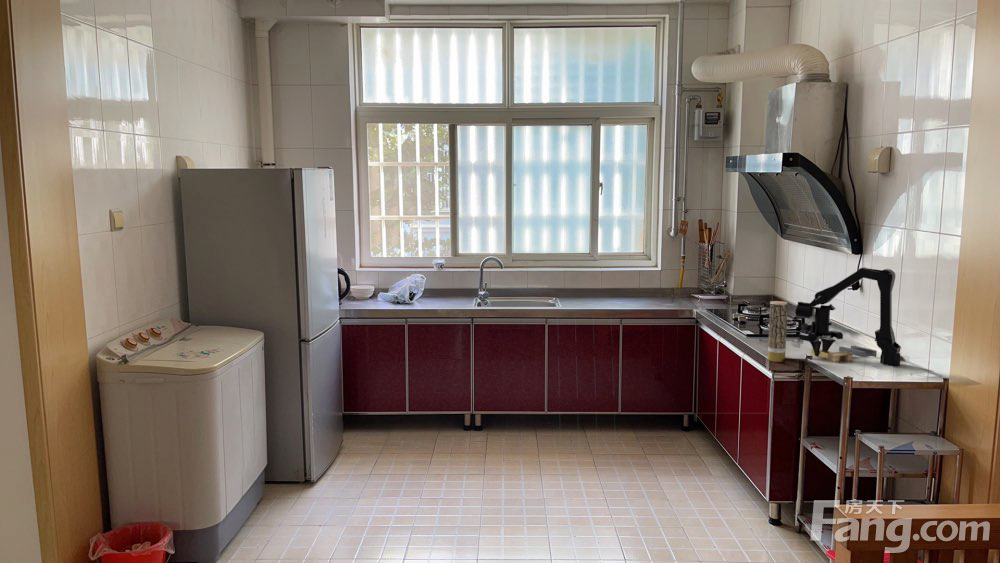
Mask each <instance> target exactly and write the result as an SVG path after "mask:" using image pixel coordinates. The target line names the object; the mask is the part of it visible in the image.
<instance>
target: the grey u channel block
mask: <svg viewBox="0 0 1000 563" xmlns="http://www.w3.org/2000/svg"><path fill="white" fill-rule="evenodd" d="M838 352H848V353H852V356H857V357H861V358H862V357H874V358H877V352H878V351H877V350H875V349H871V348H866V347H863V346H858V345H850V347H846V346H839V347H838Z"/></svg>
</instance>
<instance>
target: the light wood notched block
mask: <svg viewBox="0 0 1000 563" xmlns="http://www.w3.org/2000/svg"><path fill="white" fill-rule="evenodd" d="M839 356H840V358H839ZM826 360H827V362H830V363H831V362H832V363H836V364H837V363H840V361H844V362H845V361H846V362H852V361H853V355H852V353H848V352H840V351H837V352H834V351H833V353H828V357H827V359H826Z"/></svg>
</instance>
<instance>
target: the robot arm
mask: <svg viewBox="0 0 1000 563" xmlns="http://www.w3.org/2000/svg"><path fill="white" fill-rule="evenodd" d="M896 276H897V275H896V273H895V271H893V270H892V269H890V268H886V269H885V268H884V269H877V268H868V267H860V268H858V269H857V270H855V272H852V273H851V274H850V275H848V276H846V277H844V278H843V279H842V280H840V281H839V282H837V283H835V284H834V285H831V286H829V287H826V288H824V289H822V290H819V291H817V292H816V293H815V295H814V299H812V300H811V302H804V301H798V302H797V305H796V308H795V312H794V314H795V317H796V318H800V319H812V317H814V320H813V321H812V322H811V324H809V325H808V323H801V325H800V330H801V333H799V335H798V337H799V338H798V340H801V341H806V342H809V343H810V345H811V348H812V349H813V350H814V354H815V356H814V357H818V354H819V350H820V349H822V350H825V351H829V350H830V349H831V346H832V345H833V344H834V343H835V342H836V340H843V339H844V334H843V332H842V331H837V330H830V326H832V322H830V318H831V317H830V315H831V314H830V313H831V311H834V310H836V307H835V306H834V305H833V304H832V303H830V302H831V301H832V300H833V299H835V298H836V297H837V296H838V295H839V294H840V293H841V292H842V291H844V290H846V289H848V288H849V287H852V285H854V284H855V283H857V282H859V281H860V280H862V279H868V280H873V281H877V282H876V283H877V286H878V289H879V290H878V291H879V296H880V297H879V298H880V299H879V303H880V304H879V308H880V309H879V324H880V325H879V329H877V330H875V331H874V335H875V336H874V337H875V339H874V342H876V346H877V347H878V348H879V349H880V350H881V354H880V358H879V363H880V364H882V365H884V366H889V367H891V366H892V367H900V364H901V353H899V352H900V351H901V349H902V347H901V345H900V344H899V343H898V341H896V337H895V332H894V329H893V324H892V318H893V317H892V316H893V315H892V312H893V310H892V309H893V308H892V307H893V306H892V305H893V304H892V302H893V301H892V300H893V298H892V294H893V290H894V286H895V280H896ZM828 303H830V304H828ZM825 304H828V305H825ZM819 305H820V306H819ZM834 338H836V339H834ZM821 347H822V348H821Z"/></svg>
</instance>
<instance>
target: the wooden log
mask: <svg viewBox="0 0 1000 563" xmlns="http://www.w3.org/2000/svg"><path fill="white" fill-rule="evenodd" d="M769 302H770V303H769V320H768V321H769V323H768V344H767V345H768V346H767V360H768V361H769V362H774V363H784V362H785V359H786V350H787V348H786V346H787V327H788V302H787V301H782V300H781V301H780V300H773V301H772V300H771V301H769Z"/></svg>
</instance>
